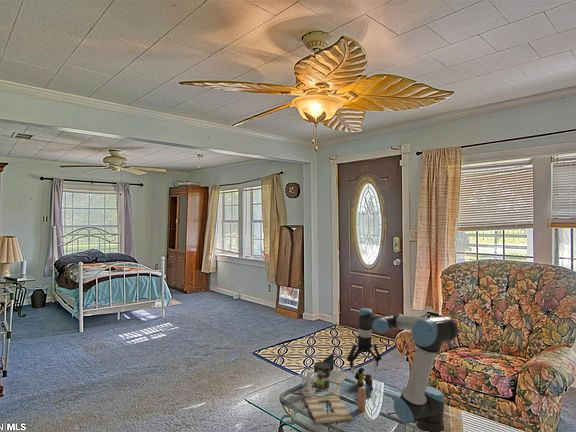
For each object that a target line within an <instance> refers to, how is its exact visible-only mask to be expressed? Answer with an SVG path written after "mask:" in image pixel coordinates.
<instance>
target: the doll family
mask: <svg viewBox="0 0 576 432" xmlns="http://www.w3.org/2000/svg"><path fill="white" fill-rule="evenodd" d="M364 371H365V368H364V367H360V368H359V369H358V370H357V372H354V374H355V375H353V377H354V378H353V379H356V380H357V383H356V385H357V387H356V388H357V389H359V388H360V387H364V388H365V389H366V398H367V397H372V396H371V393H372V392H373V391H374V388H373V381H374V379H373V378H372V375H371V374H364ZM364 382H365V384H364ZM372 394H373V393H372Z"/></svg>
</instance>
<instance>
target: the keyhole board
mask: <svg viewBox="0 0 576 432" xmlns="http://www.w3.org/2000/svg"><path fill="white" fill-rule="evenodd" d="M304 402H305V404H306V406H307V408H308V410H309V412H310V414H311V416H312V418H313V420H314V422H315V424H317V425H318V424H329V423H340V422H350V421H353V419H354V418H353V415H351V413H350V412H349V410H348V409H347V407H346V406H345V405H344V403H343V402H342V400H341V398H339V396H338V395H330V396H329V395H328V396H326V395H325V396H315V397H311V398H309V397H304ZM321 403H328V404H329V405H330V409H331V411H332V412H329V413H327V412H326V410H325V409H324V407H323V406H321V405H320V404H321Z"/></svg>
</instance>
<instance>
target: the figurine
mask: <svg viewBox="0 0 576 432" xmlns="http://www.w3.org/2000/svg"><path fill="white" fill-rule="evenodd" d="M312 375H313V376H312ZM305 381H306V385H305ZM316 381H317V373H315V374H314V373H313V370H309V369H308V370H307V371H306V375H305V374H304V375H302V376H301V384H302V385H304V387H303V388H302V389H301V393H302V395H303V397H304V398H313V396H314V394H315V393H316V390H317V388H314V387H313V386H312V383H314V382H316Z"/></svg>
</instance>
